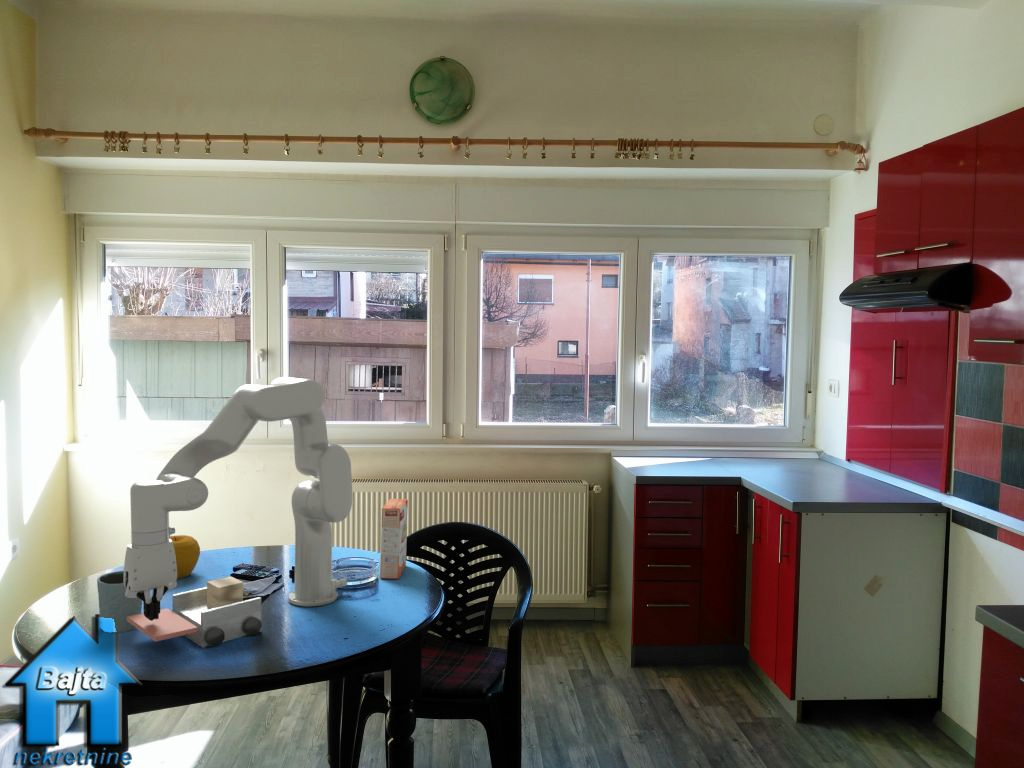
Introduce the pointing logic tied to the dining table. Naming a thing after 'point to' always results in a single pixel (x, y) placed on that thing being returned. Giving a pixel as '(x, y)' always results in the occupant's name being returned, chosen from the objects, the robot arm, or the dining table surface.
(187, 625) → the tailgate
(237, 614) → the cart
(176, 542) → the apple
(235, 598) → the box
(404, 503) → the cracker box
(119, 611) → the grey round bin
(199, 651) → the dining table surface
